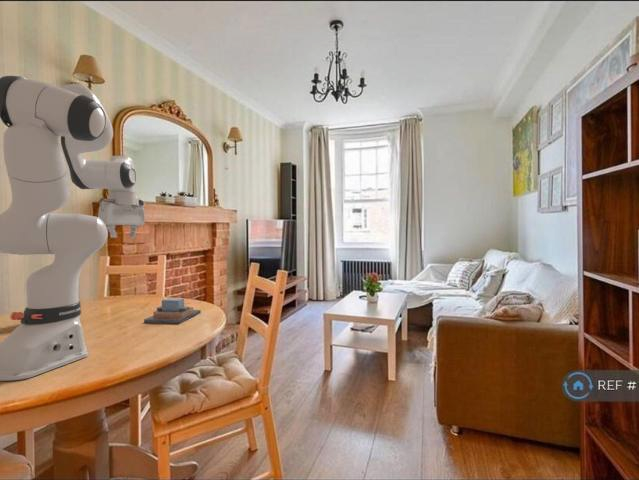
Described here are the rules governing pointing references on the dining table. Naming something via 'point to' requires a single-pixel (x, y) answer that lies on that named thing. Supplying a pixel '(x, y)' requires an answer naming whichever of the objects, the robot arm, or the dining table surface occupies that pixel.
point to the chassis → (171, 316)
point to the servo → (173, 305)
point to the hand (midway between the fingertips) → (123, 237)
